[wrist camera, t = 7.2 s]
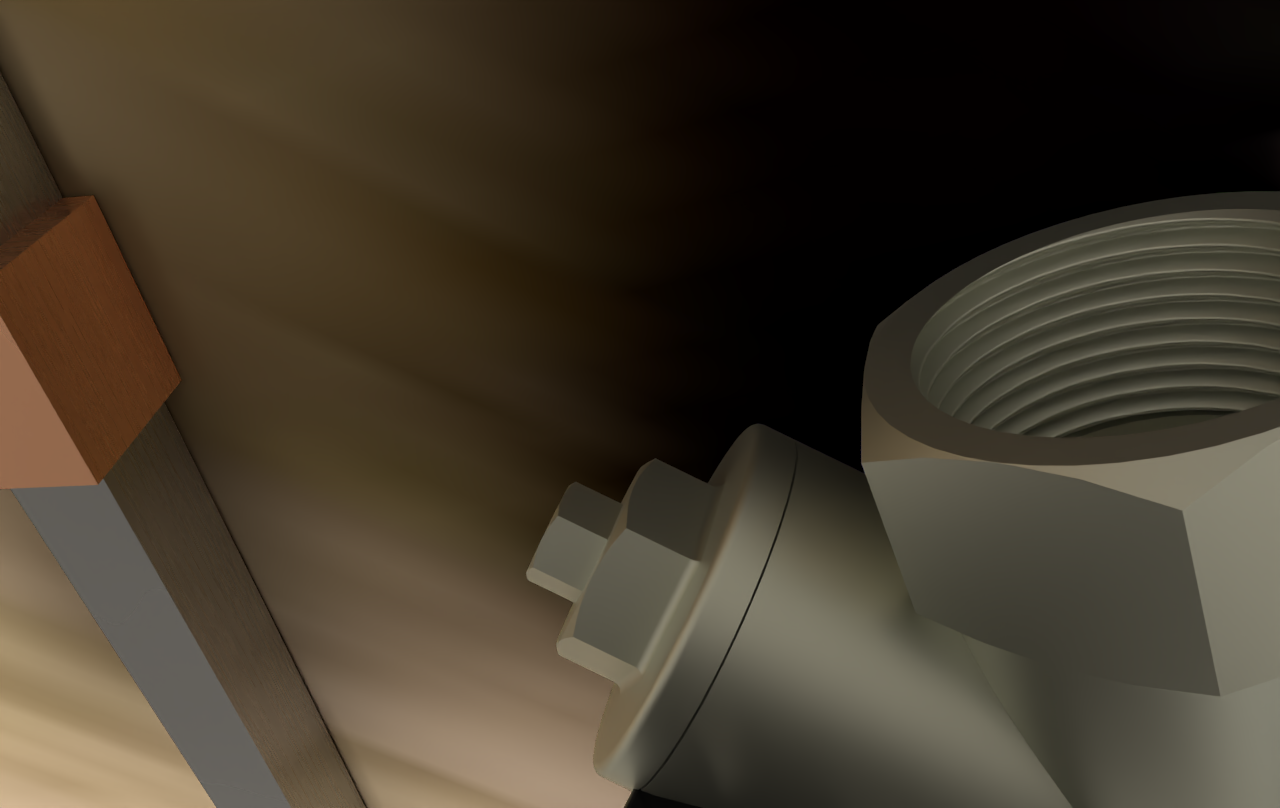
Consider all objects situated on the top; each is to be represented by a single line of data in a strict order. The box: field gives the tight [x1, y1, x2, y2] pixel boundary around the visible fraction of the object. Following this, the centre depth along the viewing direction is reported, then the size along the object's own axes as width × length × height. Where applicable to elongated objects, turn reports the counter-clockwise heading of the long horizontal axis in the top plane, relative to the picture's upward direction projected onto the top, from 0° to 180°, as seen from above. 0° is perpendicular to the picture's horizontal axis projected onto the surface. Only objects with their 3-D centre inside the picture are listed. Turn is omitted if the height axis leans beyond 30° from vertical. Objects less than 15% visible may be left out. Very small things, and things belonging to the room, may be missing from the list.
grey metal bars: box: [0, 72, 365, 808], centre depth 11 cm, size 19×14×2 cm
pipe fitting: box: [526, 191, 1280, 808], centre depth 9 cm, size 8×4×7 cm
